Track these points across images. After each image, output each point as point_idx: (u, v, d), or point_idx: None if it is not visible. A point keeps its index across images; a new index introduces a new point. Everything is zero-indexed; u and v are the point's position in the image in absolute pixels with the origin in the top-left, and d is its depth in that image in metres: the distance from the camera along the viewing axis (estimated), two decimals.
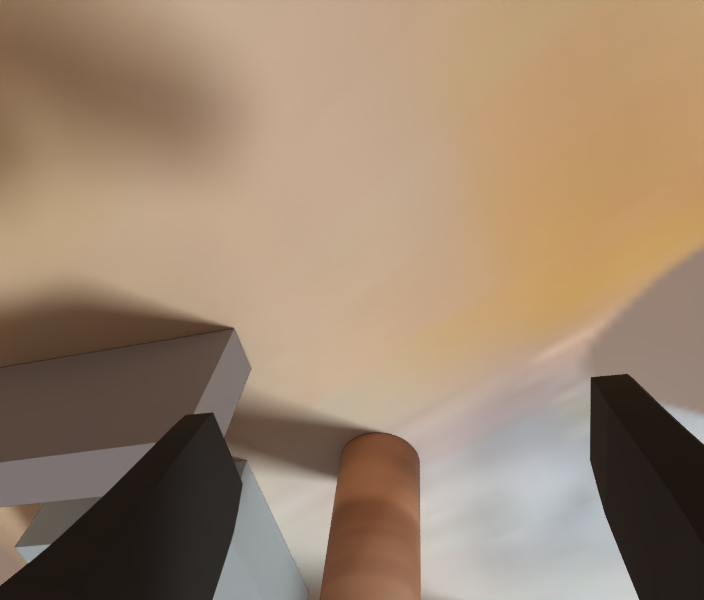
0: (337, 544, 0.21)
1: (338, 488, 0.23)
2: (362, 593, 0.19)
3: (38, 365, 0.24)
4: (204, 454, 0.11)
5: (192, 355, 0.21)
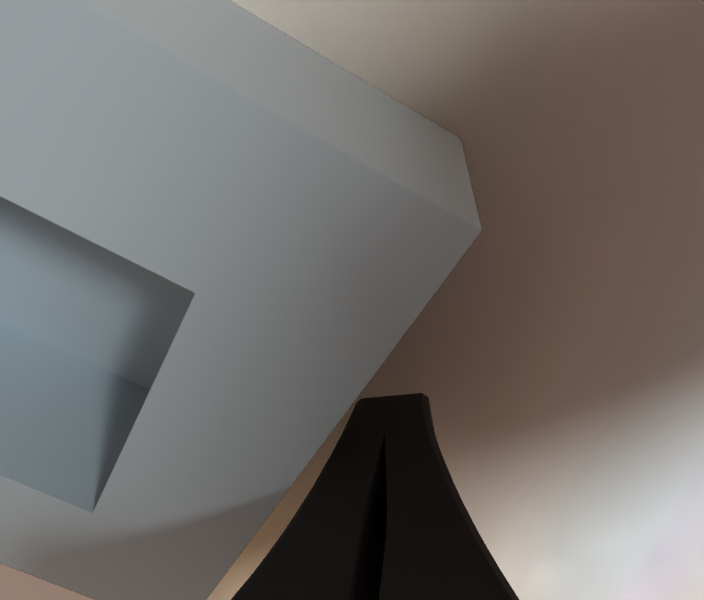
0: None
1: None
2: None
3: None
4: None
5: None
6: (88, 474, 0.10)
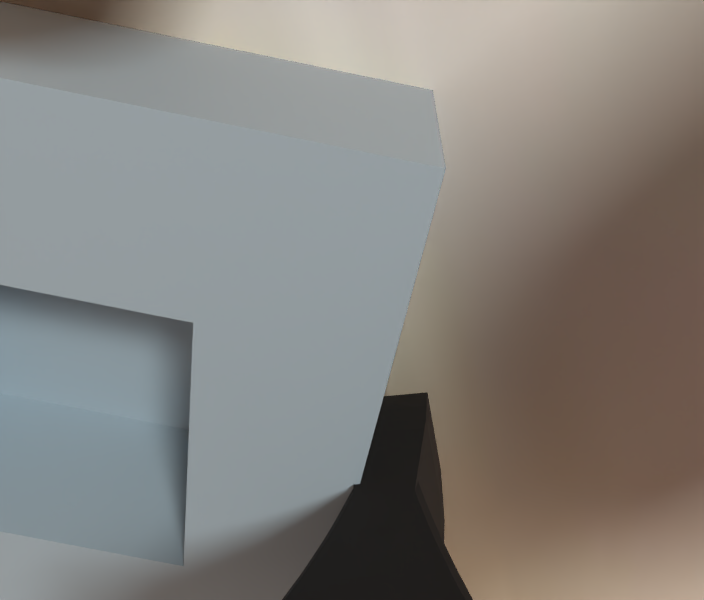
0: None
1: None
2: None
3: None
4: (430, 436, 0.10)
5: None
6: (173, 529, 0.10)
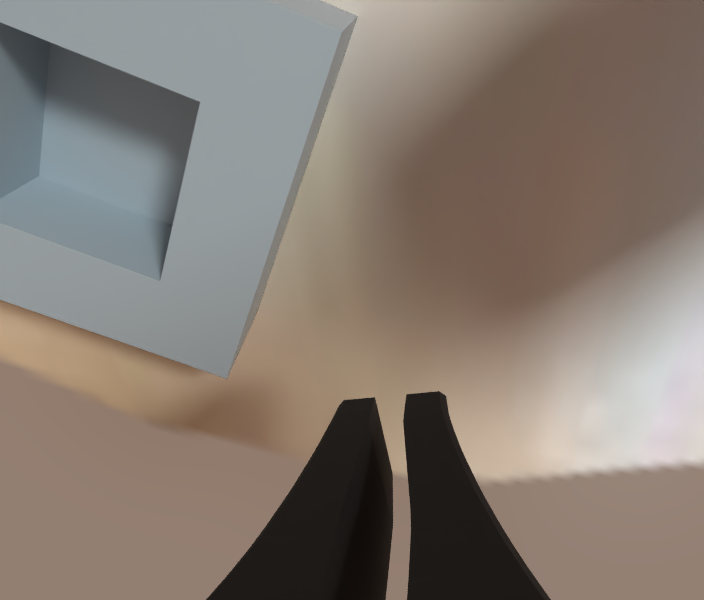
0: None
1: None
2: None
3: None
4: (375, 441, 0.10)
5: None
6: (155, 265, 0.16)
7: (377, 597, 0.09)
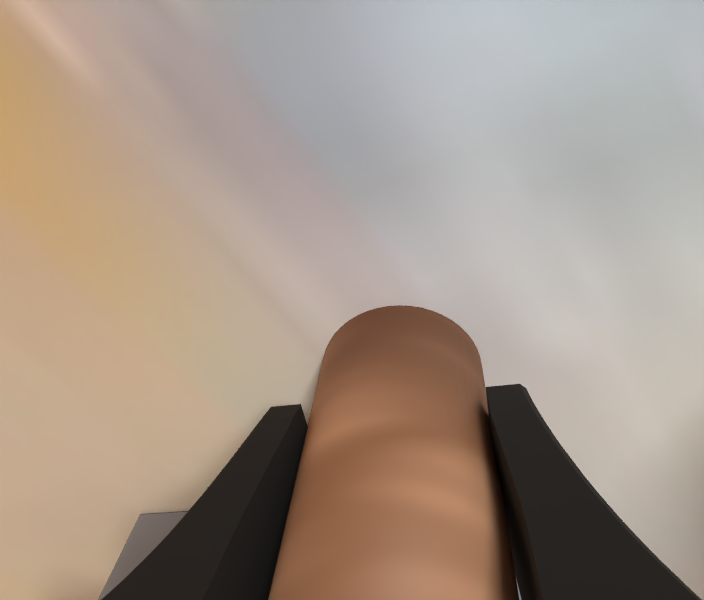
0: None
1: None
2: None
3: None
4: (296, 447, 0.10)
5: None
6: None
7: None
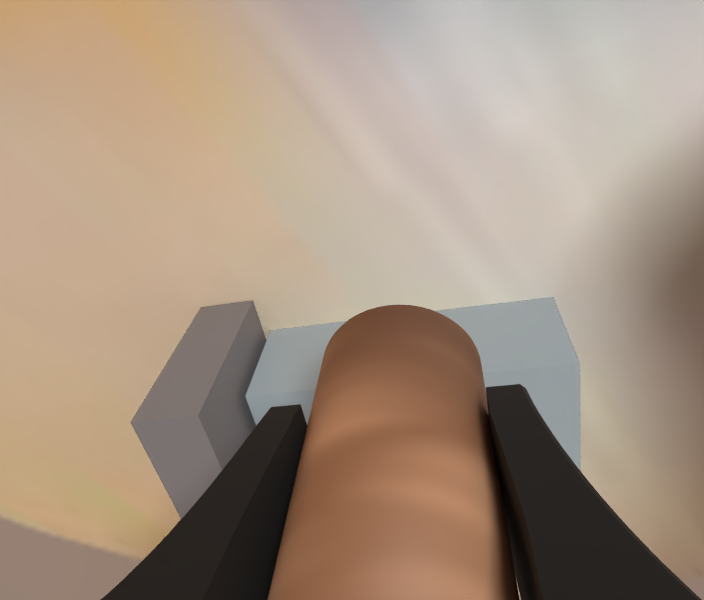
0: None
1: None
2: None
3: None
4: (296, 447, 0.10)
5: None
6: None
7: None
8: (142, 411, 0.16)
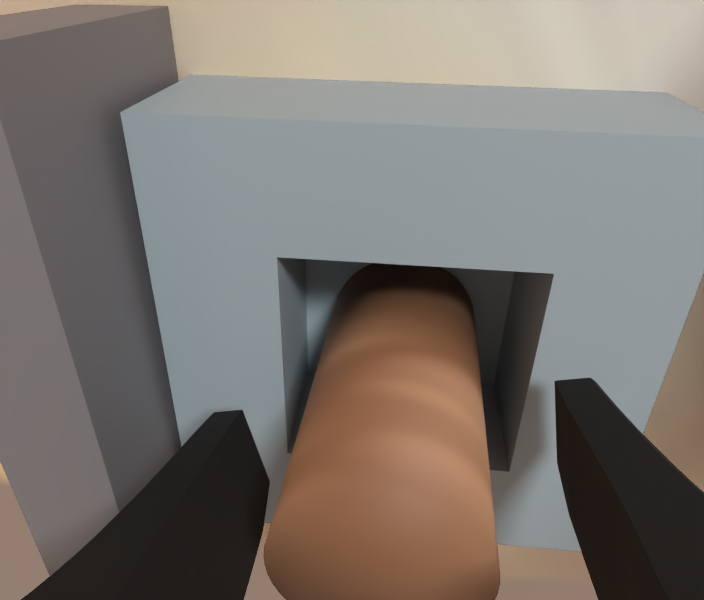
0: None
1: None
2: (287, 570, 0.09)
3: None
4: (235, 452, 0.11)
5: None
6: (488, 449, 0.13)
7: None
8: None
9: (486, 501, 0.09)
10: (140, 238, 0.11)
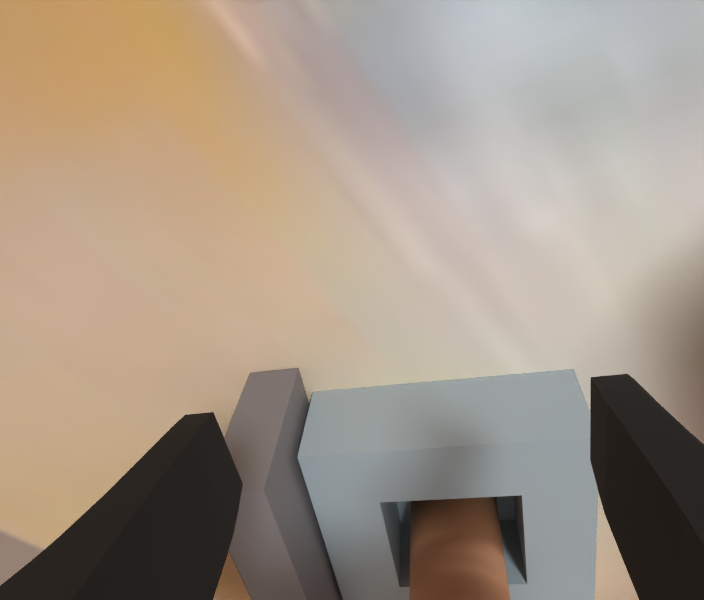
0: None
1: None
2: None
3: None
4: (204, 454, 0.11)
5: None
6: (514, 569, 0.23)
7: None
8: None
9: None
10: (308, 498, 0.22)
